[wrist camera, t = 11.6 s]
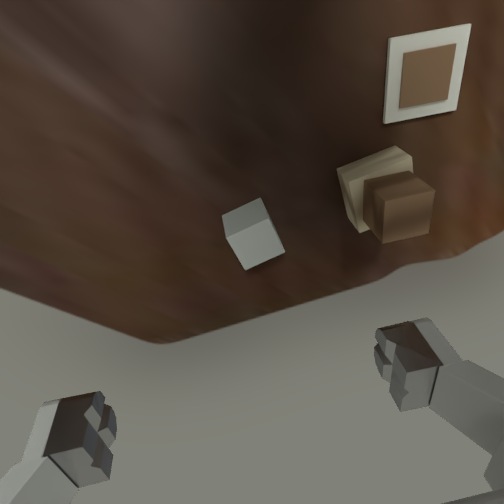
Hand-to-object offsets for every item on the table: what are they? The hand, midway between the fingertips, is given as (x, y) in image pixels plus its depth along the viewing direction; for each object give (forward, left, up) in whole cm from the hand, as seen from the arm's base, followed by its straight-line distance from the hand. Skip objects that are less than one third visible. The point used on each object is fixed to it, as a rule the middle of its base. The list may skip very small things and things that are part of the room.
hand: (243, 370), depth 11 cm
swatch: (+1, +23, -31) cm, 39 cm away
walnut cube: (+12, +18, -27) cm, 35 cm away
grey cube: (+14, +3, -31) cm, 34 cm away
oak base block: (+12, +18, -31) cm, 38 cm away
